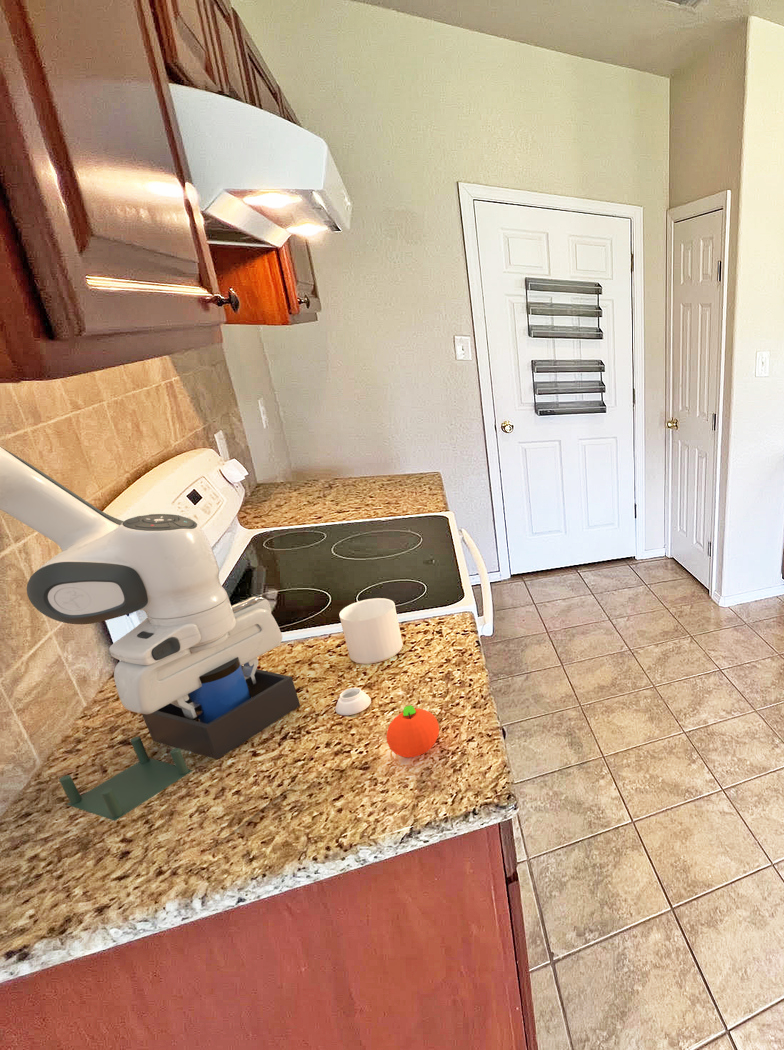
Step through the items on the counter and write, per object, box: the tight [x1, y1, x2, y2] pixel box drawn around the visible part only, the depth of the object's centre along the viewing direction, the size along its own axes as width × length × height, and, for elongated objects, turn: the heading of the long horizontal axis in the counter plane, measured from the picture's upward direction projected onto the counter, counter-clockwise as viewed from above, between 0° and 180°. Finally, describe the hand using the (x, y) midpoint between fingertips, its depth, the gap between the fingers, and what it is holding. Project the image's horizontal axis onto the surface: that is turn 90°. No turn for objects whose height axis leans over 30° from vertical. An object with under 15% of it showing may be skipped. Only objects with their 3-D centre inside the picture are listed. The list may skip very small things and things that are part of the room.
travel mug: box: [189, 657, 252, 724], centre depth 88 cm, size 7×7×10 cm
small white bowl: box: [334, 687, 372, 716], centre depth 95 cm, size 5×3×5 cm
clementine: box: [386, 704, 440, 758], centre depth 85 cm, size 8×7×7 cm
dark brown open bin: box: [141, 665, 301, 760], centre depth 89 cm, size 13×13×7 cm
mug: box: [338, 597, 404, 665], centre depth 110 cm, size 12×9×9 cm
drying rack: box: [58, 736, 194, 822], centre depth 77 cm, size 9×9×5 cm
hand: (222, 700), depth 88 cm, fingers closed on travel mug, 6 cm apart
